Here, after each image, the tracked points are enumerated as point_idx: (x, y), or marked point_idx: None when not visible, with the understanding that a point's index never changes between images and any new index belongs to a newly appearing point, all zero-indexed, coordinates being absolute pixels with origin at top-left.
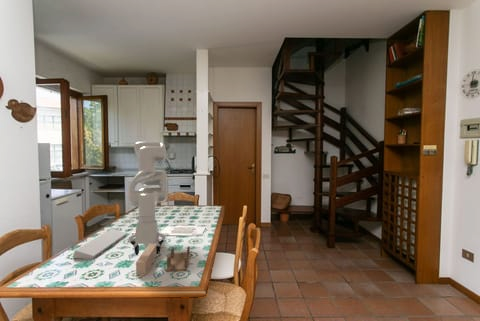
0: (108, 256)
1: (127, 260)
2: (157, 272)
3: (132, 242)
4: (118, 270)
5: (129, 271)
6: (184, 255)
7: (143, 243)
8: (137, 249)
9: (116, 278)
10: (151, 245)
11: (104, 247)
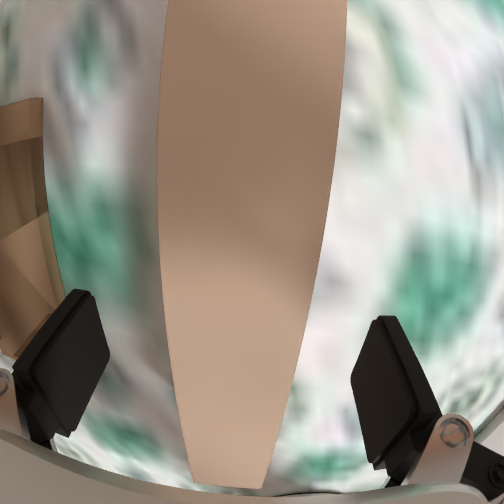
0: (491, 387)
1: (417, 349)
2: (103, 77)
3: (493, 476)
4: (480, 187)
5: (397, 137)
6: (5, 326)
7: (275, 501)
8: (389, 390)
9: (465, 40)
10: (231, 469)
11: (489, 438)
